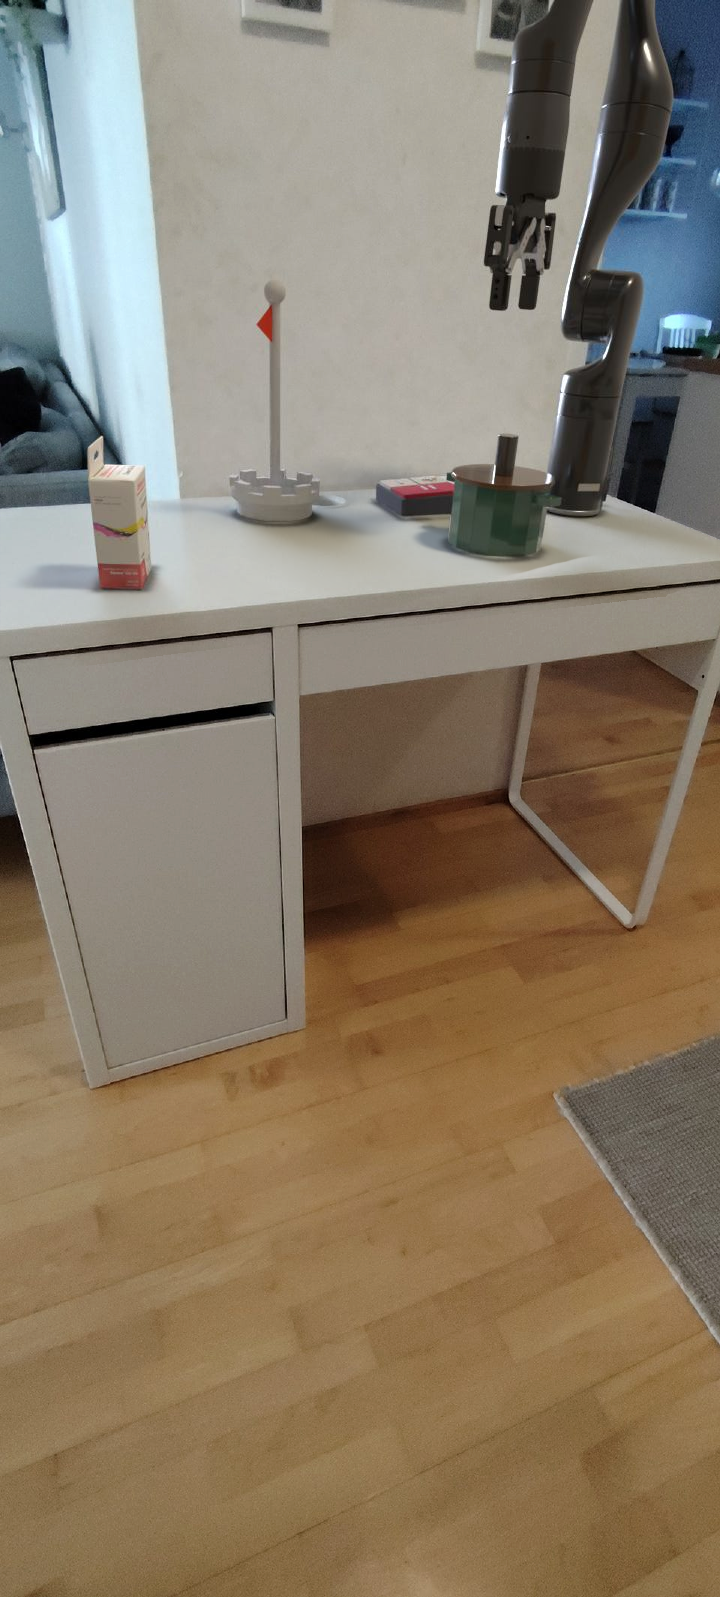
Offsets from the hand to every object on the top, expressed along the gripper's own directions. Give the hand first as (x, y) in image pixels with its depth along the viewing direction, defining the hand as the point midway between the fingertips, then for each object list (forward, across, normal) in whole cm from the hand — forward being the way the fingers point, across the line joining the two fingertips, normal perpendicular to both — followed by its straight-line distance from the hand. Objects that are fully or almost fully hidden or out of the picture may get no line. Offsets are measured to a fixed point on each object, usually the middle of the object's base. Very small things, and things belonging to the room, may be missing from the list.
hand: (512, 310), depth 106 cm
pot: (+28, -4, -4) cm, 29 cm away
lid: (+19, -4, -4) cm, 20 cm away
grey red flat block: (+28, +9, +14) cm, 33 cm away
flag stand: (+28, -12, +29) cm, 42 cm away
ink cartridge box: (+28, -47, +23) cm, 59 cm away
